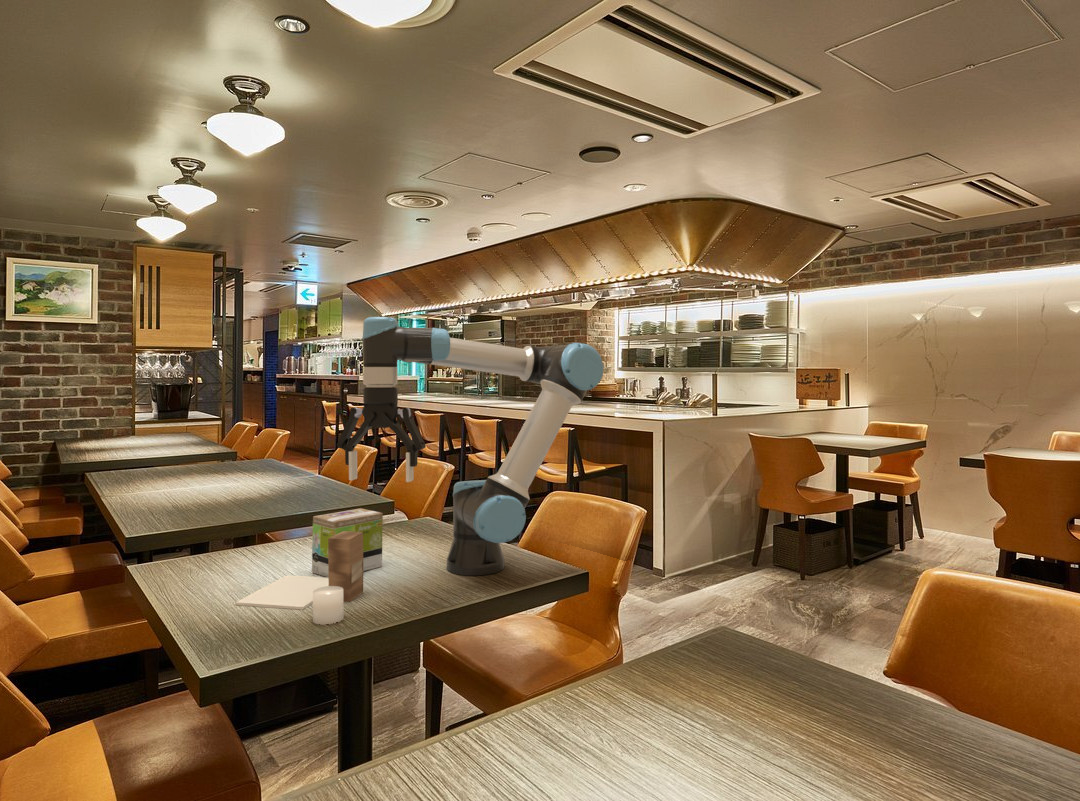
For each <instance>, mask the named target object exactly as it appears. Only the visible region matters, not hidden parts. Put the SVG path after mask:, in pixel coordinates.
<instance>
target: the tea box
mask: <svg viewBox="0 0 1080 801" xmlns="http://www.w3.org/2000/svg"><path fill="white" fill-rule="evenodd" d="M383 514H384V513H383V512H380V511H377V510H376V511H375V510H371V509H365V508H360V507H359V508H355V509H350V510H349V509H348V510H344V511H337V512H331V513H324V514H320V515H319V514H318V515H314V516H313V517H312V535H311V536H312V537H311V538H312V542H311V543H312V544H311V546H312V547H311V572H312V573H314V574H316V575H319V576H321V577H325V578H329V572H328V538H330V537H332V536H334V535H336V534H338V533H340V532H343V531H348V532H363V572H365V571H369V570H374V569H378V568H382V566H383V528H384V527H383V524H384V522H383V521H384V520H383V519H384V518H383V516H384V515H383Z"/></svg>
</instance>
